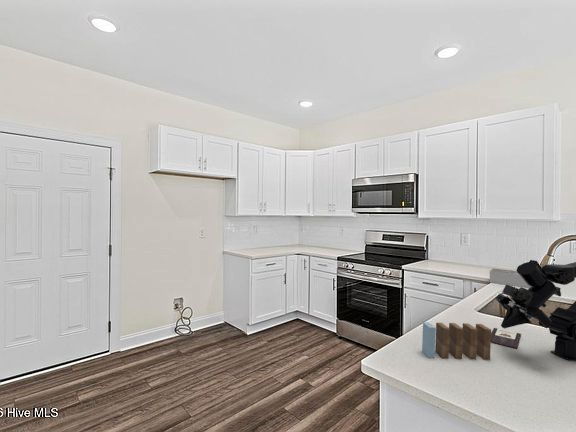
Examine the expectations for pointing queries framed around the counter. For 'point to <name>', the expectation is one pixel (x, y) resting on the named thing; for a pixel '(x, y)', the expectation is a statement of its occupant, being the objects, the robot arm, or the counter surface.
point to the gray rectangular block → (507, 278)
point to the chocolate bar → (505, 338)
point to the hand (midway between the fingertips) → (502, 327)
